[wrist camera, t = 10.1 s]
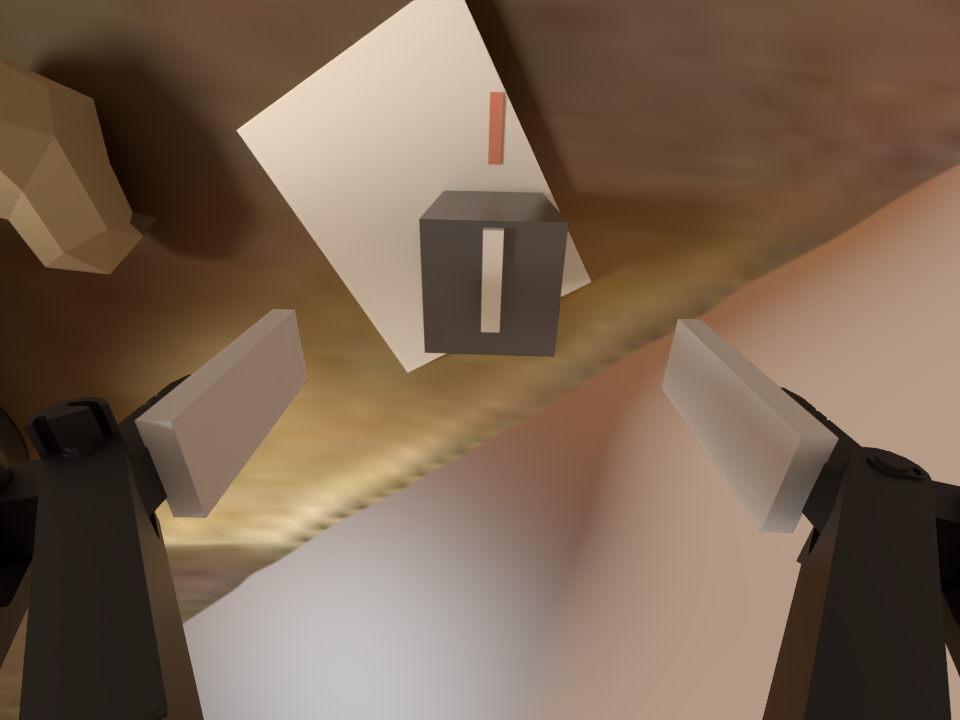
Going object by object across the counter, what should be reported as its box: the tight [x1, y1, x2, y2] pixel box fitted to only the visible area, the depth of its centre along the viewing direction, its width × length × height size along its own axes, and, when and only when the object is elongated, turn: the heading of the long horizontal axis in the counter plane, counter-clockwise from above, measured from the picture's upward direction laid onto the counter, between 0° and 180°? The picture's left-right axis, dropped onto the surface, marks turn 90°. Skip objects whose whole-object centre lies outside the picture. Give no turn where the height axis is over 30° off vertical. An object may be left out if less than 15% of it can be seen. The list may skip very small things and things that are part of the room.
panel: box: [237, 0, 591, 373], centre depth 29 cm, size 16×20×7 cm
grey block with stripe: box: [419, 191, 569, 357], centre depth 26 cm, size 7×7×12 cm
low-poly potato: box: [0, 58, 157, 274], centre depth 27 cm, size 15×11×12 cm
